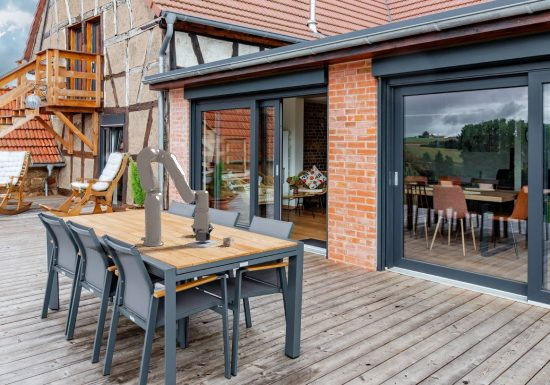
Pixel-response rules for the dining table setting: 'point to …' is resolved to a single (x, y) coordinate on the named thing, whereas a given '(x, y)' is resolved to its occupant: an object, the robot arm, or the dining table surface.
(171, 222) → the dining table surface
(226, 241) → the cream block
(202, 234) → the charcoal block
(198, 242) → the board
